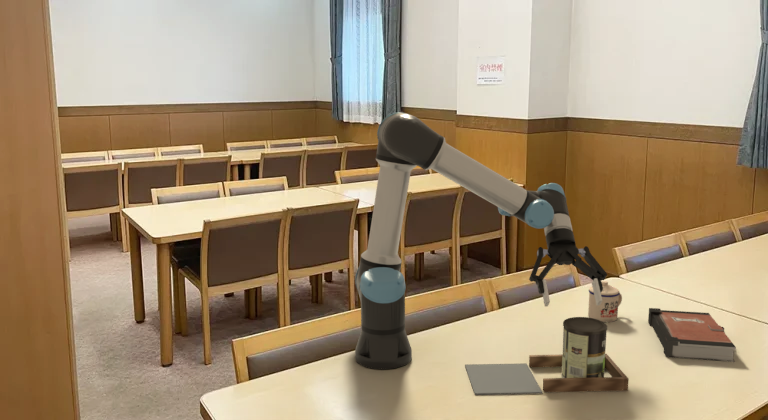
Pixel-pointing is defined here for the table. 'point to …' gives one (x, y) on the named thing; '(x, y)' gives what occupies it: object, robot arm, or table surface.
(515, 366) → the rubber mat
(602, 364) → the coffee can
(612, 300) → the teacup with lid
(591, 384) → the frame
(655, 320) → the book
